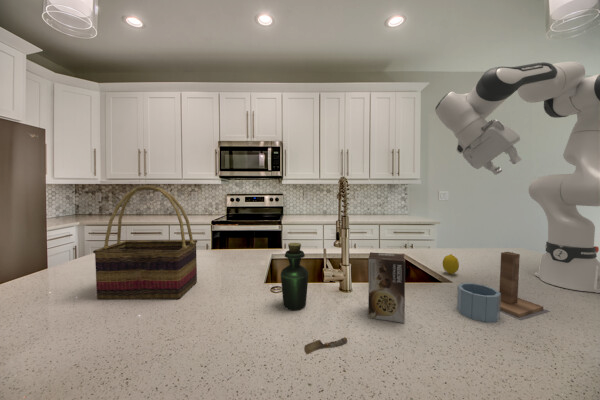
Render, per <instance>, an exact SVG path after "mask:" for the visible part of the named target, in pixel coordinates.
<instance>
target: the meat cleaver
mask: <svg viewBox="0 0 600 400" xmlns="http://www.w3.org/2000/svg"><path fill="white" fill-rule="evenodd" d="M347 342H348V338H347V337H342V338H340V339H337V340H335V341H330V342H324V344H323V342H322V341H321V340H320V339H317V340H313V341H312V342H309V343H307V344H305V345H304V348H303V351H304V353H305V355H309V354H311V353H314V352H315V351H319V350H322V349H323V350H324V349H331V348H337V347H341V346H343V345H346V344H347Z"/></svg>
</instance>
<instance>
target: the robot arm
mask: <svg viewBox="0 0 600 400" xmlns="http://www.w3.org/2000/svg"><path fill="white" fill-rule="evenodd" d="M585 75H586V69H585V66H584V65H583V64H582V63H580V62H578V61H573V60H572V61H571V60H570V61H561V62H556V63H550V62H546V61H545V62H543V61H542V62H534V63H529V64H522V65H517V66H496V67H493V68H489V69H487V70H486V71H485V72H483V74H482V75H481V77H480V79H479V80H478V81H477V83H476V84H475V85H474V86H473V88H472V89H471V90H470V91H469V92H467V93H457V92H455V91H450V92H448V93H446V94H445V95H444V96H443V97H442V98H441V99H440V100H439V102H438V103H437V105H436V107H435V109H434V112H435V113H436V115H437V118H438V119H439V120H440V121H441V122H442V124H443V125H444V126H445V127H446V129H449V130H450V131H452V133H453V135H454V137H455V138H456V139H457V146H456V152H457V153H458V154H462V156H463V158H464V159H465V161H467V163H469V164H470V166H471V167H472V168H474V169H476V170H479V169H480V168H485V169H486V170H488V171H490V172H492V173H493V174H494V176H495V175H496V176H497V175H499V174H500V173H502V172H503V170H502V169H501V168H500V166H496V165H494V163H493V162H492V160H494V159H495V158H497V157H499V156H500V155H501V154H502V153H504V154H506V155H507V154H508V156H509V159H508V160H509V162H511V164H512V165H515V164H518V163H519V162H520V161H522V157H520V156H519V154H518V150H517V148H516V147H515V146H514V145H515V144H517V143H518V142H520V141H521V137H520V135H519V134H518V133H517V132H516V131H515V130H514V129H512V128H511V127H510V126H509V125H507V124H505V123H504V122H501V121H500V120H498V119H489V120H488V121H487V120H486V119H487V118H488V117H489V116H490V115H492V114H493V113H494V112H495V110H497V109H498V108H499V107H500V106H501V104H503V103H504V102H506V100H507V99H508V98H509V97H511V96H512V95H513V94H514V93H515V92H517V94H518V96H519V97H520V98H521V99H522V101H525V102H527V103H529V104H530V103H531V104H533V103H541V102H543V109H544V112H545V114H547V115H548V116H549V117H551V118H558V119H559V118H566V117H569V116H572V115H573V116H574V115H576V118H577V121H575V124H574V125H573V128H572V130H571V132H570V135H569V137H568V139H567V143H566V145H565V148H564V150H563V154H562V155H563V156H562V157H563V159H564V160H565V162H567V163H568V164H570V165H572V166H575V170H574V172H573V173H561V174H559V173H558V174H548V175H543V176H538V177H535V178H534V179H533V180H532V181H531V182H530V184H529V185H528V194H529V196H530V198H531V199H533V201H535V202H536V203H537V204H539V206H540V207H541V208H542V210H543V212H544V214H545V216H546V220H547V231H548V232H547V241H545V242H546V243H545V253H544V254H542V255H541V256H540V260H539V268H538V271H535V272H534V277H537V278H539V280H540V281H543V282H544V283H546V284H549V285H552V286H554V287H558V288H559V287H560V288H564V289H567V290H572V291H579V292H580V291H581V292H589V293H597V294H600V261H599V260H598V259H597V256H598V255H597V253H598V252H599V250H600V249H599V246H596V245H595V237H596V236H595V235H596V233H595V232H596V226H595V223H594V222H593V221H592V220H590V219H588V218H587V217H584V215H582V214H581V213H580V212H579V211H578V208H577V206H582V207H600V73H598V74H594V75H591V76H588V77H585Z"/></svg>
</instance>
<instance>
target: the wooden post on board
mask: <svg viewBox="0 0 600 400" xmlns="http://www.w3.org/2000/svg"><path fill="white" fill-rule="evenodd" d="M520 256H521V255H520V253H516V252H510V251H504V252H500V266H499V267H500V268H499V270H500V273H499V274H500V275H499V288H498V290H499V291H498V290H497V291H498V292H500V293H501V302H500V310H501V311H504V312H506V313H508V314H511V315H513V316H516V317H518V318H520V317H523V316H526V315H529V314H533V313H536V312H539V311H542V310H543V309H544V306H542V305H539V304H538V303H534V302H532V301H528V300H525V299H522V298H519V281H520V280H519V275H520V261H521V260H520Z"/></svg>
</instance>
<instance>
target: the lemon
mask: <svg viewBox="0 0 600 400" xmlns="http://www.w3.org/2000/svg"><path fill="white" fill-rule="evenodd" d="M442 268H443V270H444V271H445V272H446V273H448V274H449V275H452V274H455V273H457V272H458V271H459V268H460V261H459V260H458V258H457V257H456V256H455V255H454V254H449V255H446V256H444V257H443V259H442Z"/></svg>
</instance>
